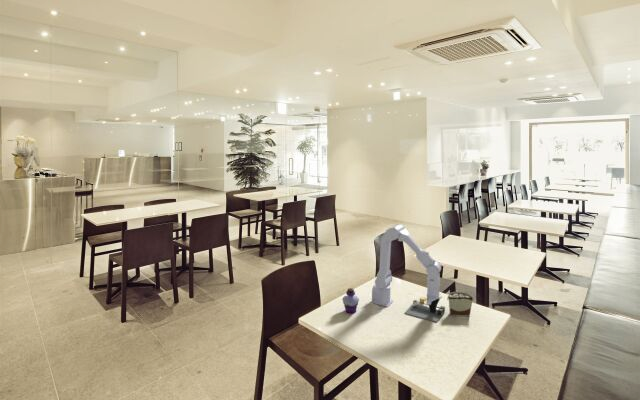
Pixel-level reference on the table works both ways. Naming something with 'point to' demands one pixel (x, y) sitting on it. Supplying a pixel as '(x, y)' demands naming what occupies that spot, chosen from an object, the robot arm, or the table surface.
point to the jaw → (426, 308)
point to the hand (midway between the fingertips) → (432, 312)
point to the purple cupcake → (350, 301)
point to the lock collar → (423, 300)
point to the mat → (422, 314)
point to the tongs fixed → (436, 307)
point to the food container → (460, 303)
